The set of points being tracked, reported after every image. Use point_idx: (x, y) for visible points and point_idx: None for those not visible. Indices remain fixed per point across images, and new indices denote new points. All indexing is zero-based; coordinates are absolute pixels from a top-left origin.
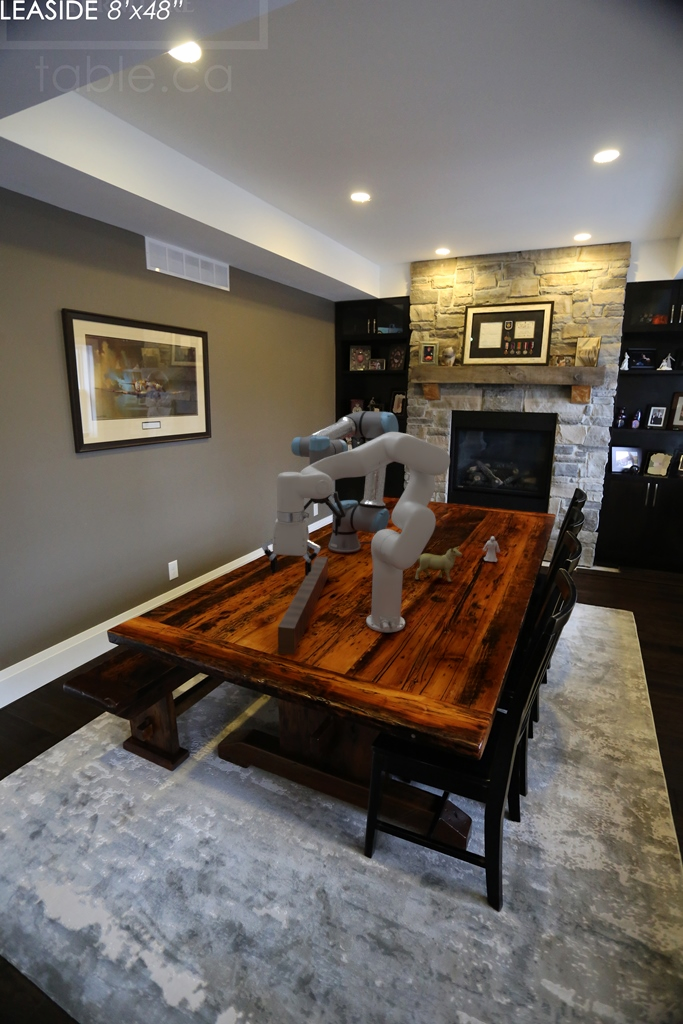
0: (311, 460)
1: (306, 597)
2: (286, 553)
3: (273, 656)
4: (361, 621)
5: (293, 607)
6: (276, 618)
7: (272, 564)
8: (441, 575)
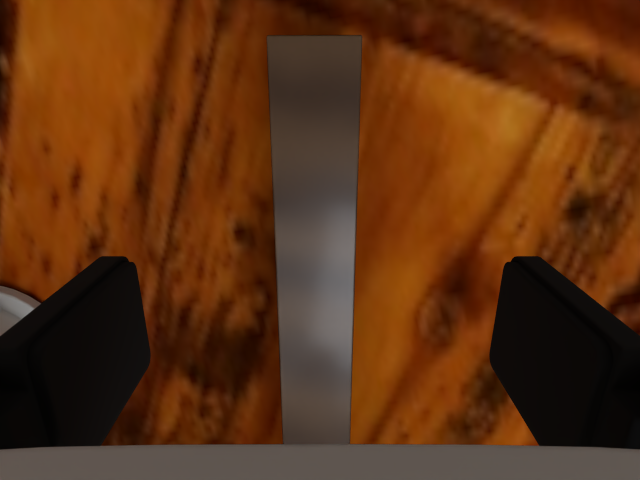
0: None
1: (293, 389)
2: (406, 471)
3: (365, 19)
4: None
5: (330, 279)
6: (417, 325)
7: (603, 310)
8: None
